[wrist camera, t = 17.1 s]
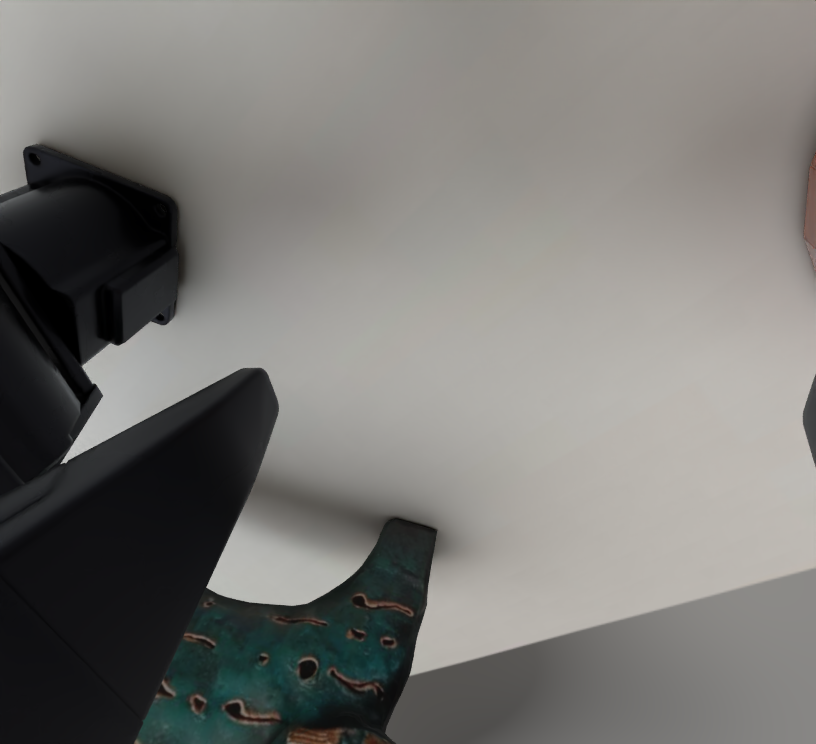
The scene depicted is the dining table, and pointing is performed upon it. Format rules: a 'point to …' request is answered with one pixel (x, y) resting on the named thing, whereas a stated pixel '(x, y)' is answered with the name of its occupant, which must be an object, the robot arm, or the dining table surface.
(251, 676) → the ceramic cat
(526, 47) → the dining table surface
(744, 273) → the dining table surface
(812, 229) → the bowl
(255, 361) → the dining table surface
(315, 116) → the dining table surface
